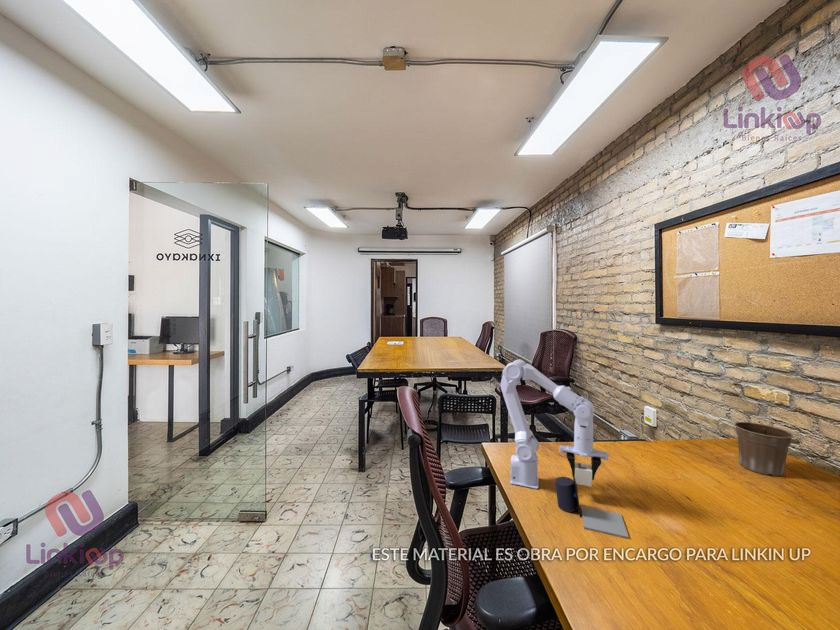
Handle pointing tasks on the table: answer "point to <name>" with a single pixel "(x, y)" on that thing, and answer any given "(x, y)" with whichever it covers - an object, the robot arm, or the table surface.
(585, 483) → the letter cube
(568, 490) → the speaker
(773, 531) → the table surface
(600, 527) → the pad
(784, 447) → the plant pot
